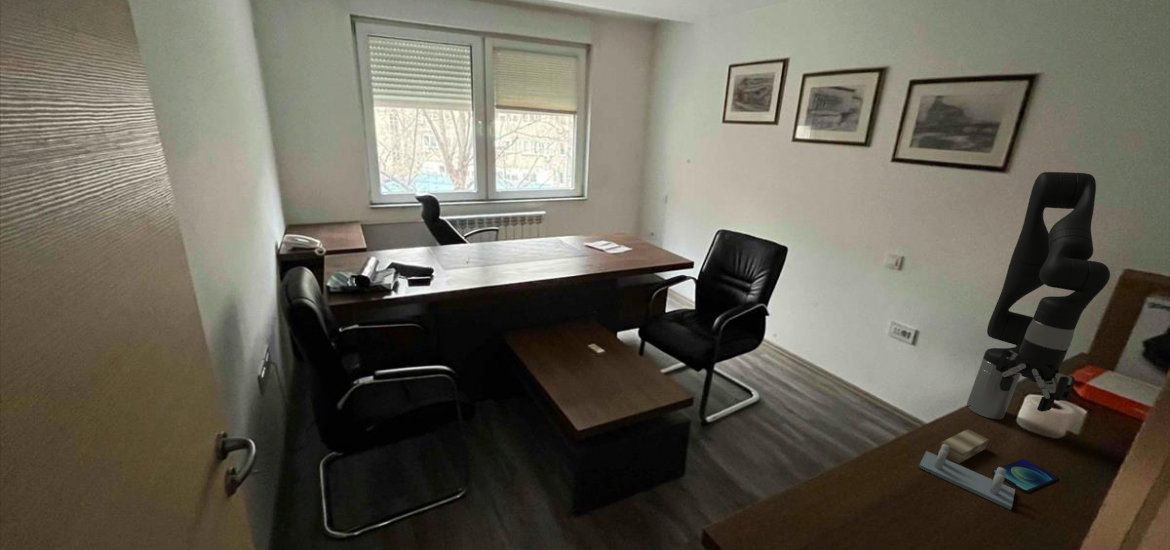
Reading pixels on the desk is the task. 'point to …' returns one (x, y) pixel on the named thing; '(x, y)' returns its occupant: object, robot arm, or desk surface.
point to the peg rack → (969, 478)
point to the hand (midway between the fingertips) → (1022, 400)
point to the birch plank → (965, 445)
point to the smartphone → (1026, 475)
